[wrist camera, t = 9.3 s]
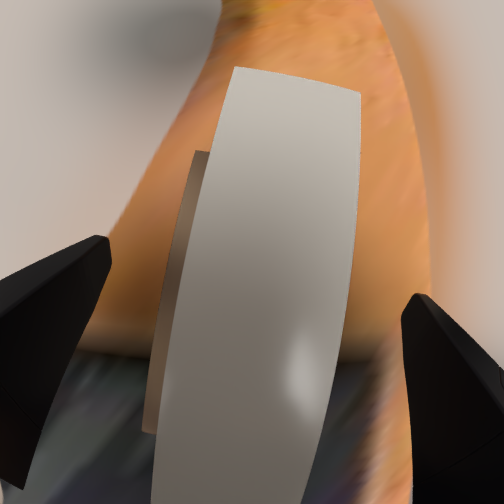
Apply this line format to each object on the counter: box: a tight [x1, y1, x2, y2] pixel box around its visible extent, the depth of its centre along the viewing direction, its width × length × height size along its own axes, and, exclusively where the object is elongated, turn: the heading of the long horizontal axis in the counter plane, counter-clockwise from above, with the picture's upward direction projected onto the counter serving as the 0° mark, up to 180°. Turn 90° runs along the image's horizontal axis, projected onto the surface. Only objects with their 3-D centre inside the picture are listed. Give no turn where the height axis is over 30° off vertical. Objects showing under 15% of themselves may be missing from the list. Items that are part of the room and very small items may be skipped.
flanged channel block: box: [142, 150, 210, 435], centre depth 15 cm, size 15×8×4 cm, turn 170°
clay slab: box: [151, 67, 361, 504], centre depth 11 cm, size 12×4×10 cm, turn 170°
